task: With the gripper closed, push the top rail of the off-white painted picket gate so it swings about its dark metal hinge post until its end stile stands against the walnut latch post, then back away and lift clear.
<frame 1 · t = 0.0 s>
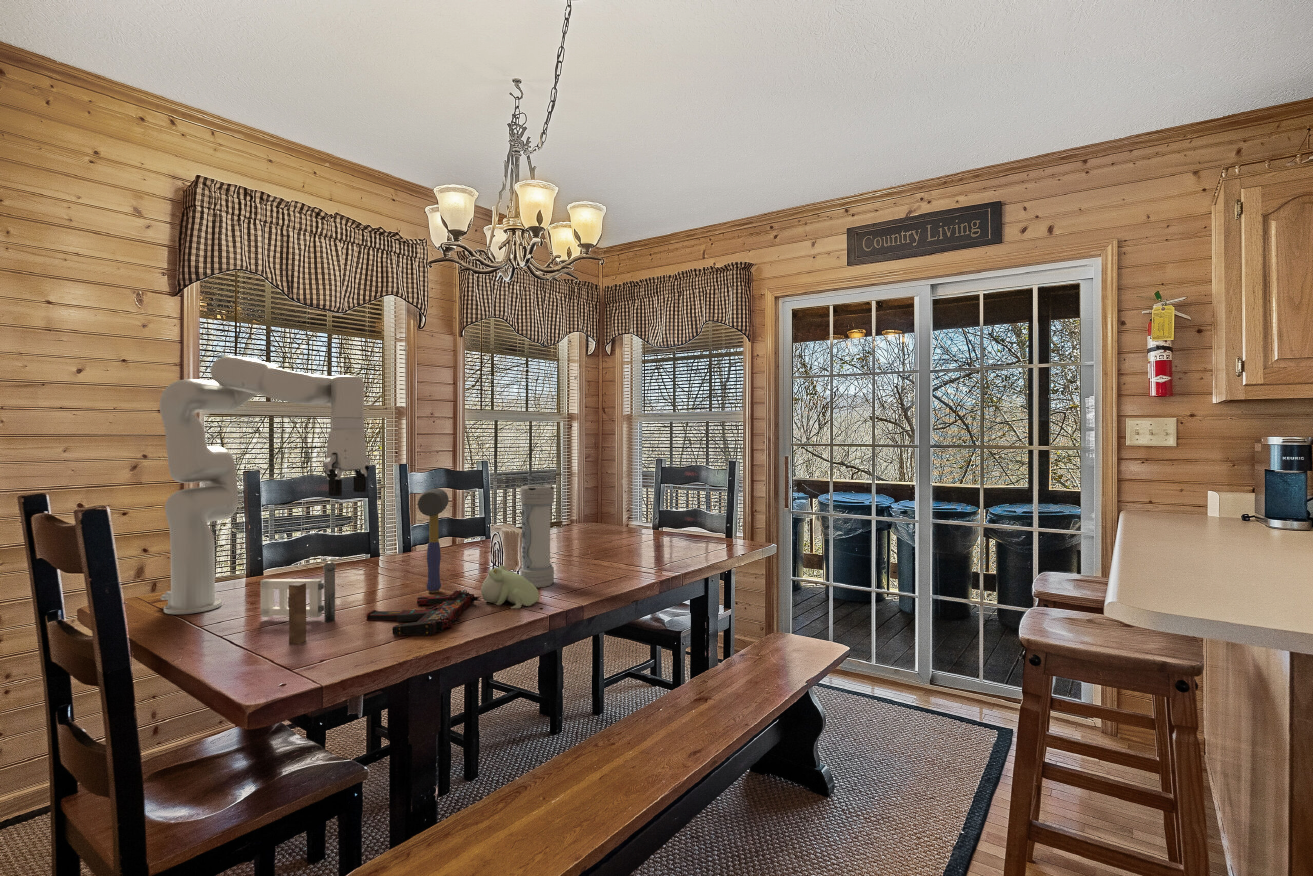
hand: (347, 493, 167), 31 cm above the table, fingers open, 9 cm apart
gate: (292, 598, 165), point 6 cm above the table, hinge at -80.0°
canister: (537, 584, 204), on the table
rubber mallet: (433, 592, 193), on the table
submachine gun: (423, 617, 170), on the table
hinge post: (329, 620, 165), on the table
latch post: (297, 642, 148), on the table
figurine: (509, 604, 182), on the table
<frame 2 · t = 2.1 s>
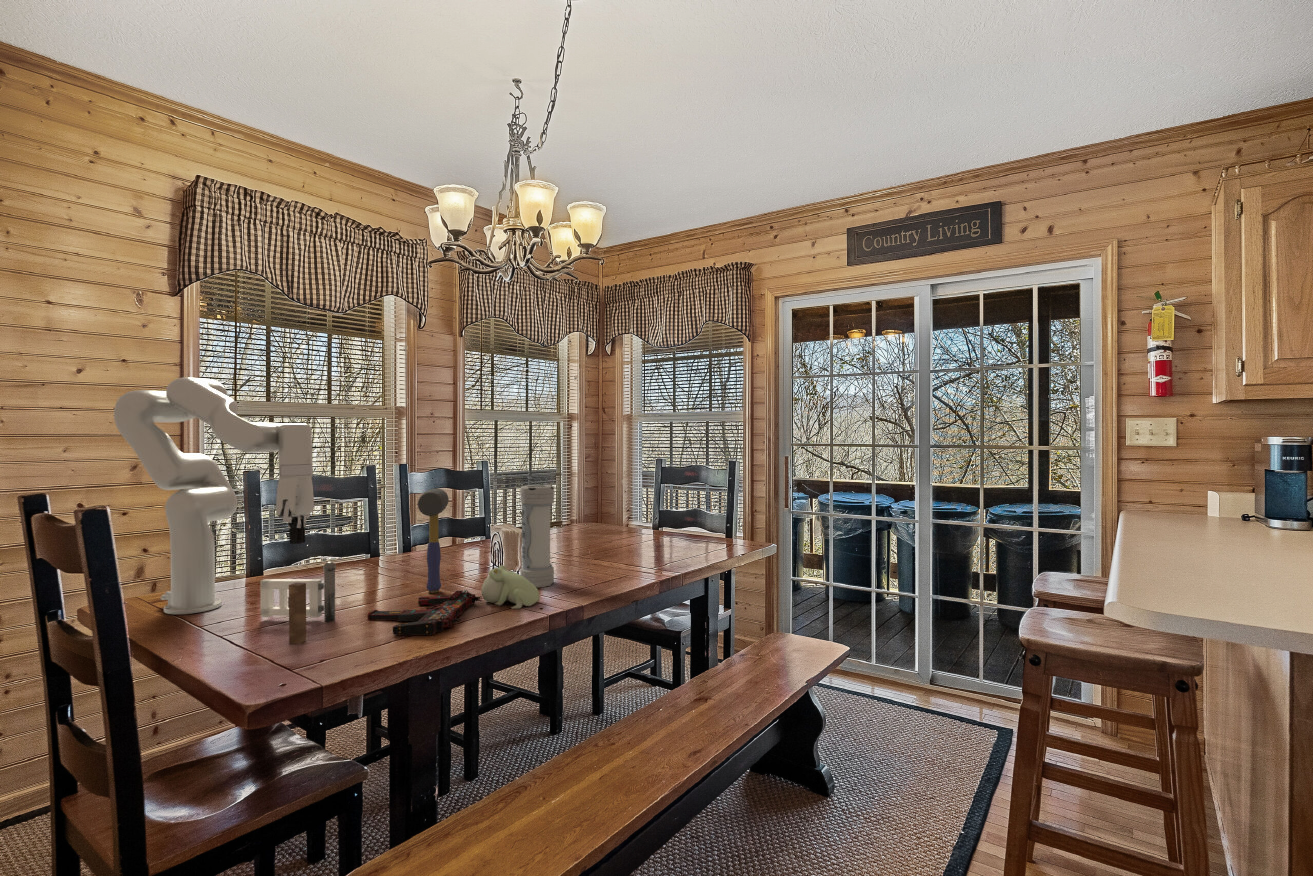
hand: (297, 543, 171), 18 cm above the table, fingers closed
nothing on the table moved.
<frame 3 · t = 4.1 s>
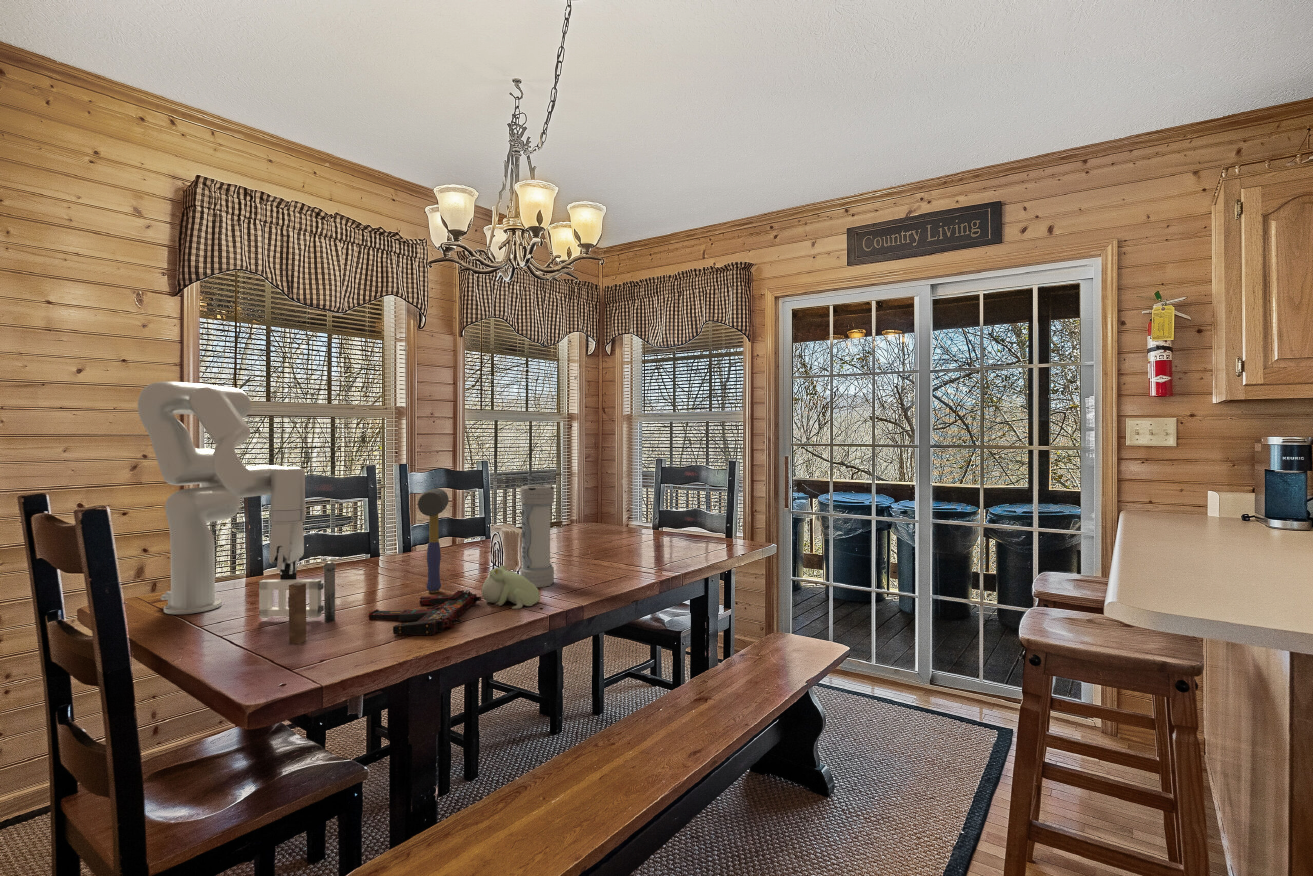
hand: (288, 589, 167), 7 cm above the table, fingers closed
gate: (291, 598, 164), point 6 cm above the table, hinge at -77.7°, touching gripper
everything else where it was.
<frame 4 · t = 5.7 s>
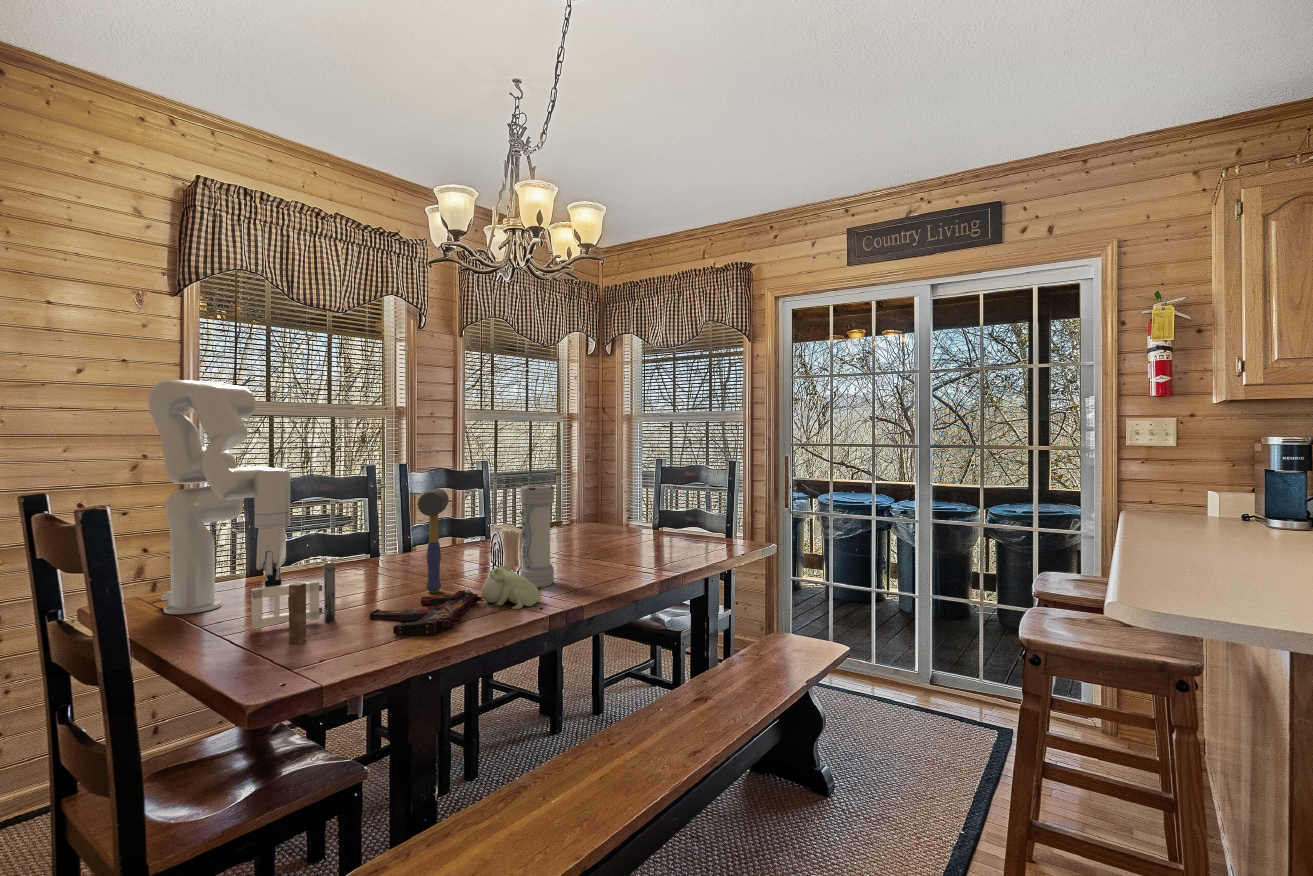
hand: (273, 595, 161), 7 cm above the table, fingers closed
gate: (287, 604, 159), point 6 cm above the table, hinge at -45.0°, touching gripper
everything else where it was.
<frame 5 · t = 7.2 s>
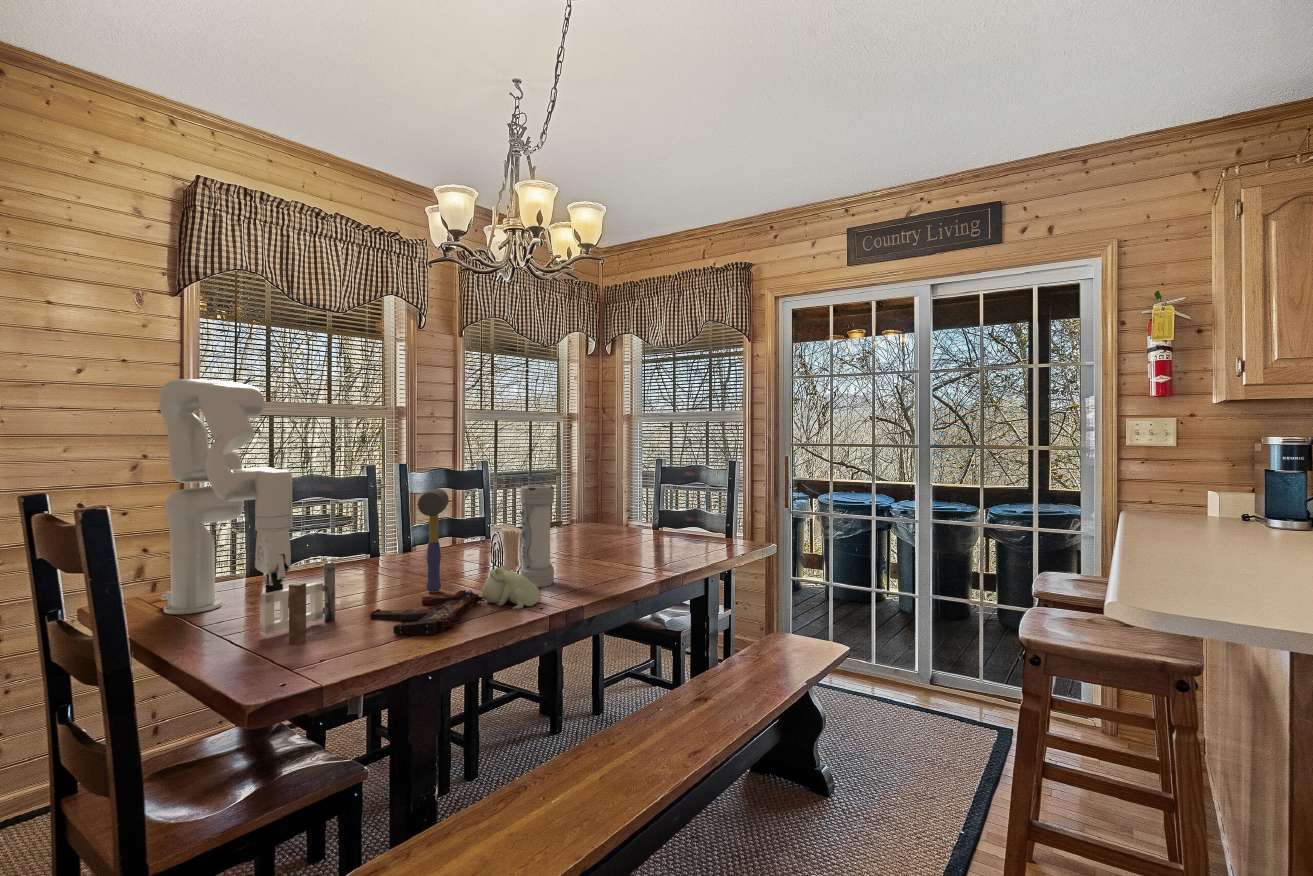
hand: (274, 600, 156), 7 cm above the table, fingers closed
gate: (294, 607, 157), point 6 cm above the table, hinge at -19.3°, touching gripper
everything else where it was.
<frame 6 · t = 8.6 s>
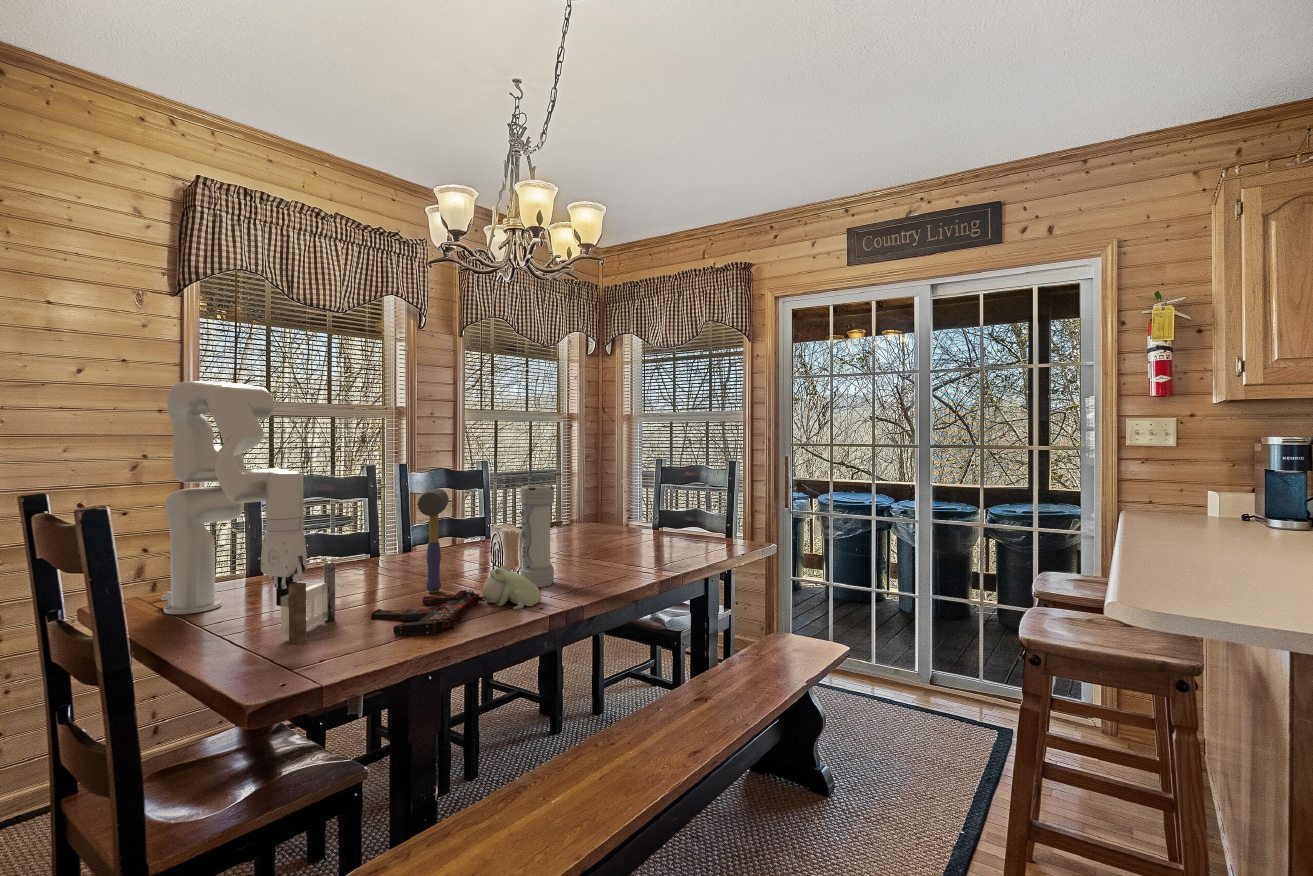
hand: (285, 604, 153), 7 cm above the table, fingers closed
gate: (306, 608, 156), point 6 cm above the table, hinge at 3.3°, touching gripper
everything else where it was.
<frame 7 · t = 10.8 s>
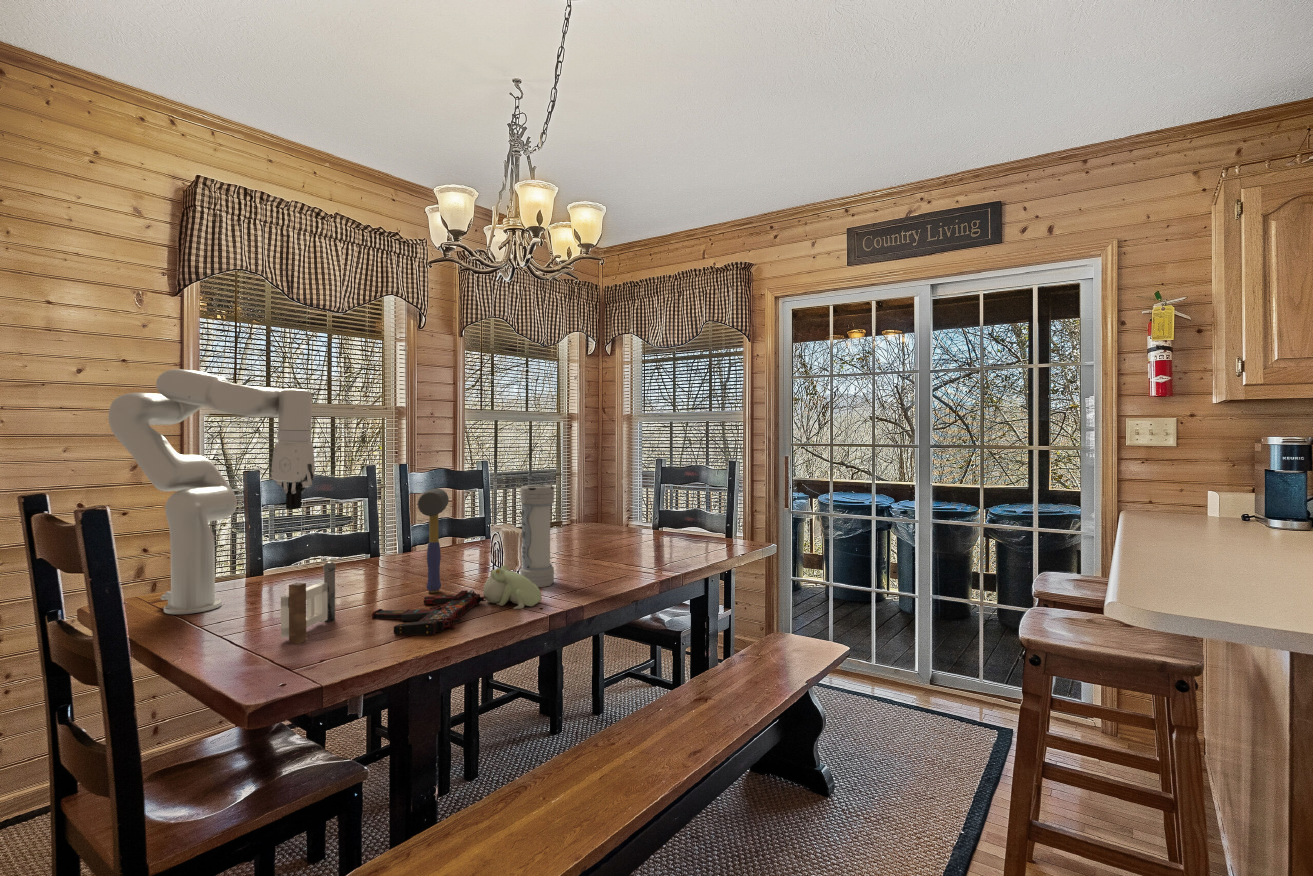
hand: (293, 508, 171), 27 cm above the table, fingers closed
gate: (306, 608, 156), point 6 cm above the table, hinge at 3.3°
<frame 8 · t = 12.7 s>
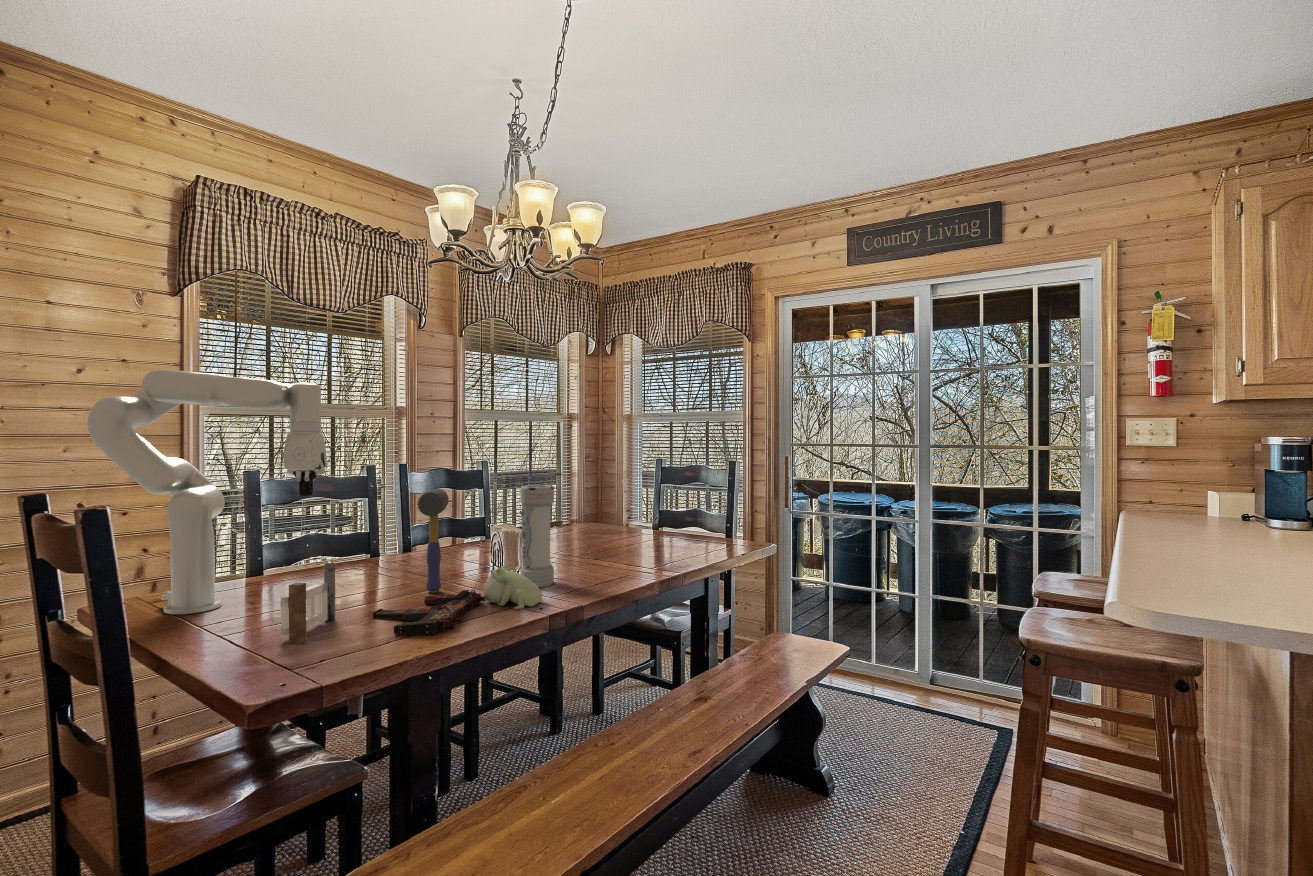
hand: (306, 495, 182), 29 cm above the table, fingers closed
at the end: gate at +3° (first picture: -80°); the gripper is holding nothing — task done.
